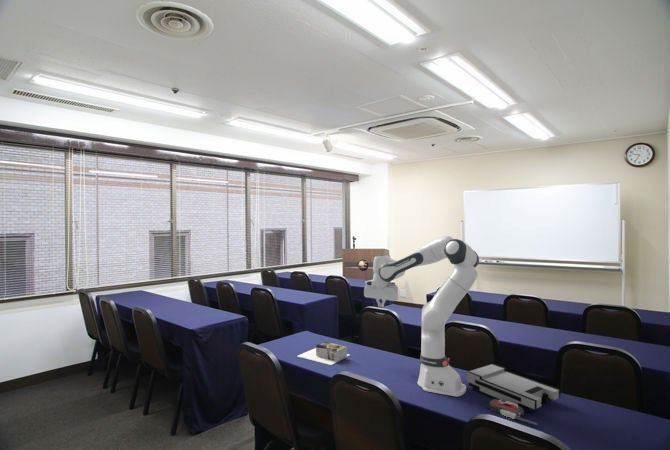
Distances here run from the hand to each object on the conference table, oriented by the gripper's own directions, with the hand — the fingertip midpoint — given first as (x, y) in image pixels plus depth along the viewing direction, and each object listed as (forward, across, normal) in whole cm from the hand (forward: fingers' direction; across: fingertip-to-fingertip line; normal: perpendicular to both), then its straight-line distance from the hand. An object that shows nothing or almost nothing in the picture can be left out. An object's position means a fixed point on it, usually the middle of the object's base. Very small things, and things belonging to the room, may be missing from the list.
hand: (380, 306), depth 212 cm
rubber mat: (+30, +30, +14) cm, 45 cm away
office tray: (+30, -70, +11) cm, 76 cm away
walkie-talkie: (+29, -72, +29) cm, 83 cm away
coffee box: (+26, +17, +14) cm, 35 cm away
